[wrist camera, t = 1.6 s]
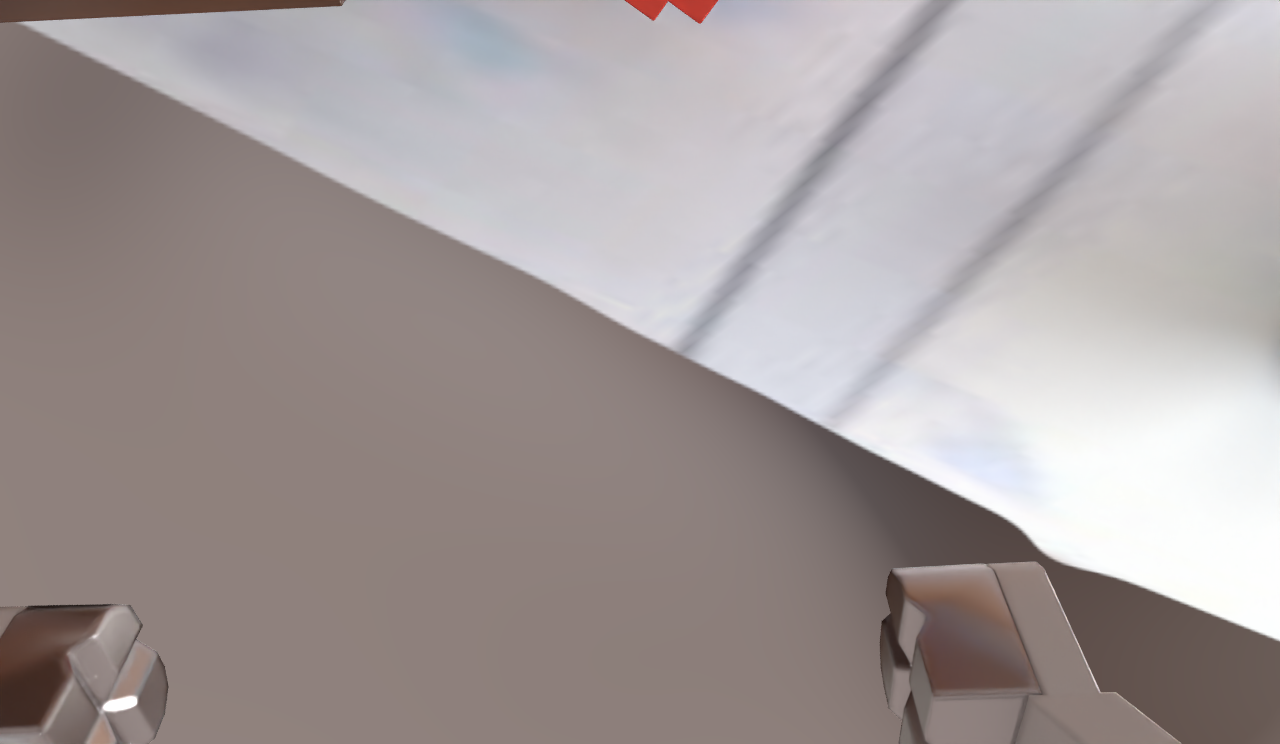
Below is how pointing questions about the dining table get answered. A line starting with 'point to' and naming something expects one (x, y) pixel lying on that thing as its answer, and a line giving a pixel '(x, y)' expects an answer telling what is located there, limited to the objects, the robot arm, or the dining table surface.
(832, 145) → the dining table surface
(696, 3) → the red stepped block
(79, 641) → the robot arm
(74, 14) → the chest lid
